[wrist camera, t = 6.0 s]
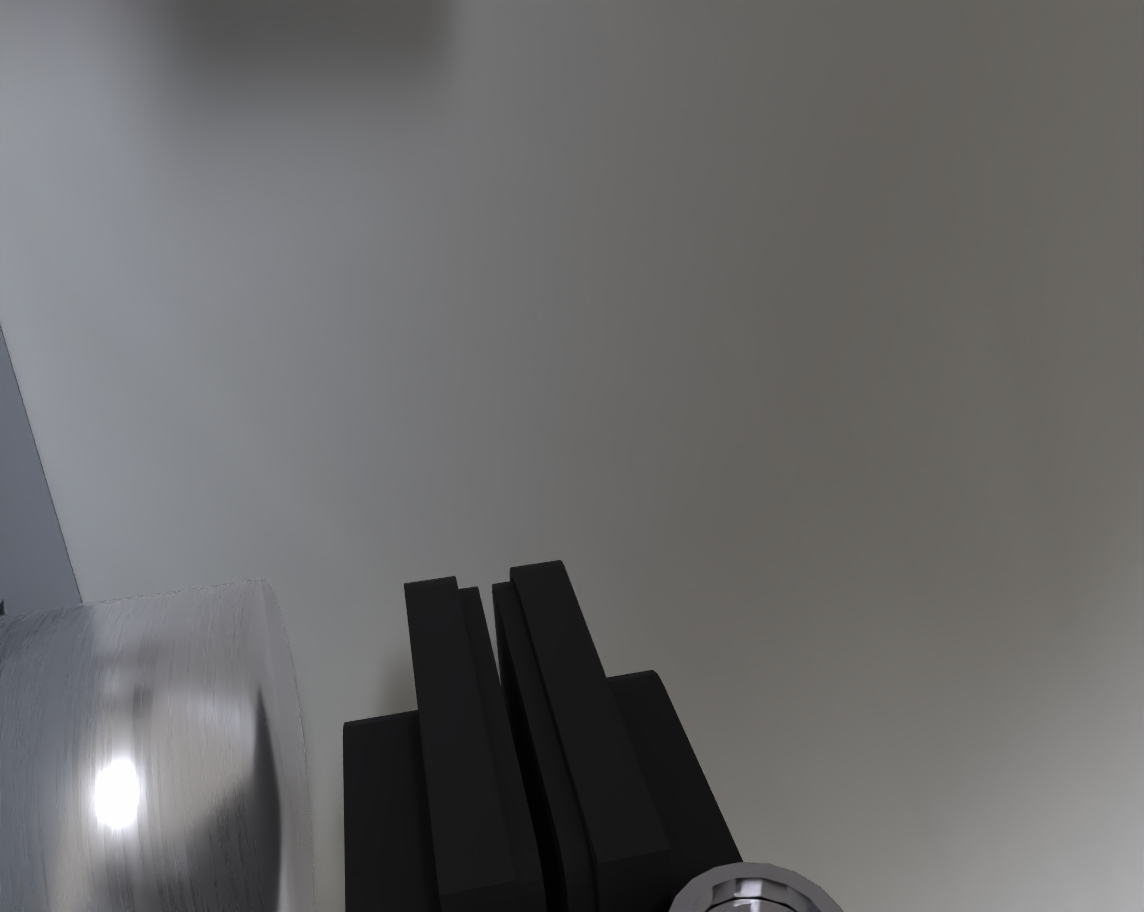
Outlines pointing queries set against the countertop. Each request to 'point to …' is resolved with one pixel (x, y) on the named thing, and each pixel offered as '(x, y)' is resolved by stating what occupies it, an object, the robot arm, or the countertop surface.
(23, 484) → the control box
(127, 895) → the knob aluminium
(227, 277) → the countertop surface
